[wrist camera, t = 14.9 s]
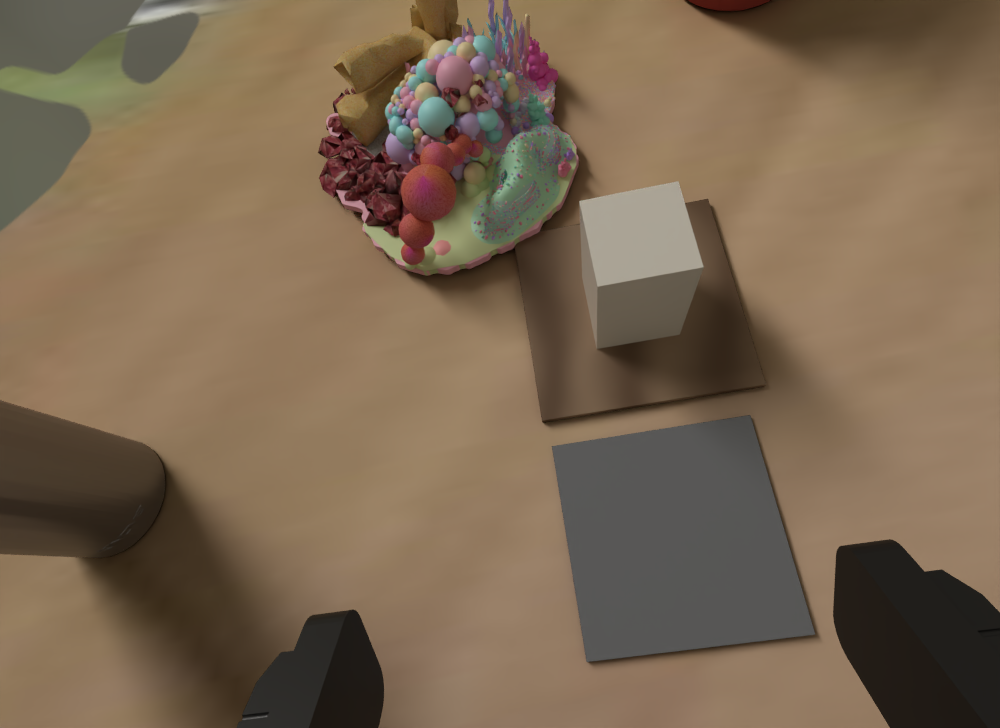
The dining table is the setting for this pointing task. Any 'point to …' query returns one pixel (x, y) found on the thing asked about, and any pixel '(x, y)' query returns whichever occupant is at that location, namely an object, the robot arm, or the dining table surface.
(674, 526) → the mat
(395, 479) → the dining table surface
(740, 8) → the citrus juicer
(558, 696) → the dining table surface
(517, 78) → the pastel sphere sculpture
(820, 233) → the dining table surface
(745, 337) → the board
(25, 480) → the robot arm
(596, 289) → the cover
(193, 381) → the dining table surface
